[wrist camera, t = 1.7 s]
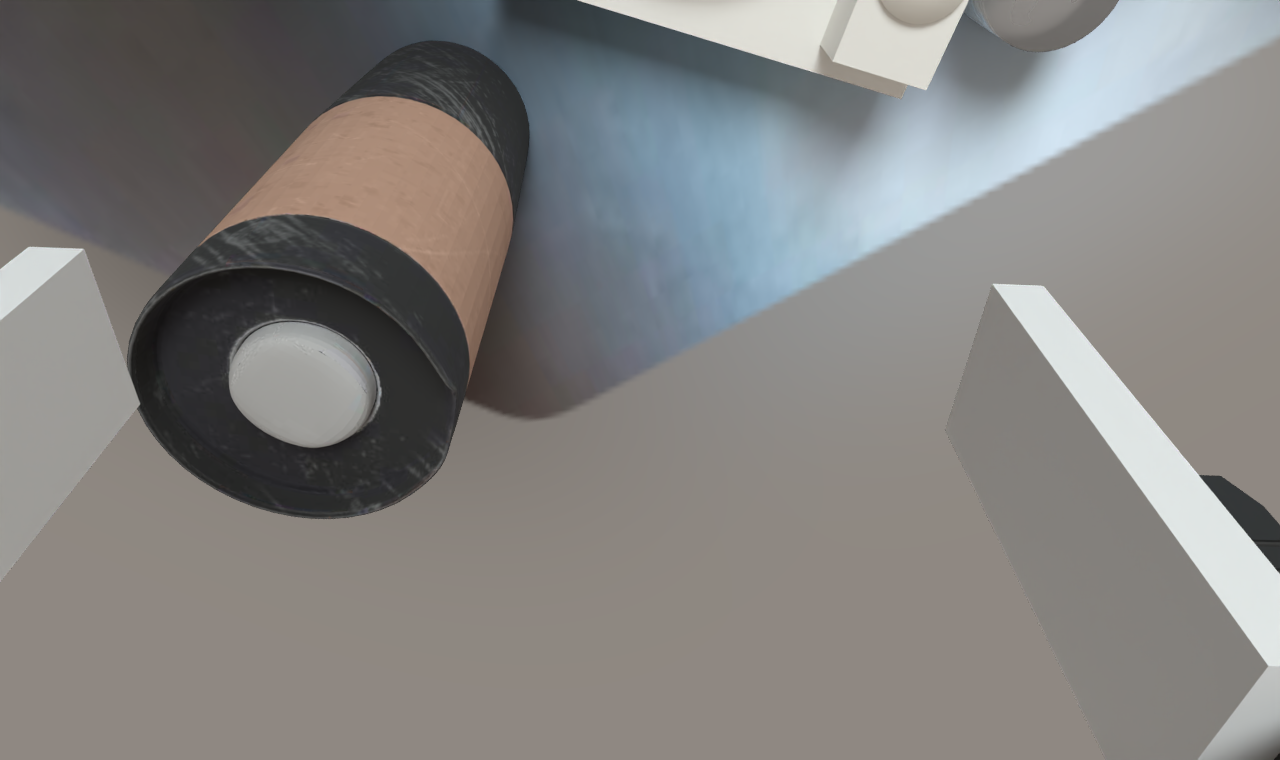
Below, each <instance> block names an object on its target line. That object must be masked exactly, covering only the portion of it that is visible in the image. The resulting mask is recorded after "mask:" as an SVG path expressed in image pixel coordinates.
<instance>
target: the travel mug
mask: <svg viewBox="0 0 1280 760" xmlns="http://www.w3.org/2000/svg"><path fill="white" fill-rule="evenodd" d="M528 146H529V123H528V117H527V113H526V109H525V106H524V103H523V101H522V99H521V96H520V94H519V92H518V91H517V89H516V87H515V86H514V84H513V83H512V81H511V80H510V79H509V77H508V76H507V75H506V74H505V73H504V72H503V71H502V70H501V69H500V68H499V67H498V66H497V65H496V64H495V63H494V62H492V61H491V60H490V59H489V58H487V57H486V56H484V55H482V54H481V53H479V52H477V51H475V50H473V49H471V48H468V47H466V46H463V45H459V44H456V43H451V42H445V41H425V42H418V43H414V44H410V45H408V46H405V47H403V48H401V49H399V50H397V51H395V52H394V53H392V54H390V55H389V56H387V57H386V58H385V59H384V60H382V61H381V62H380V63H379V64H378V65H376V66H375V67H374V68H373V69H372V70H370V71H369V72H368V73H367V74H366V75H365V76H364V77H363V78H361V79H360V80H359V81H358V82H357V83H356V84H355V85H354V86H352V87H351V88H350V89H349V90H348V91H347V92H346V93H345V94H343V95H342V96H341V97H340V98H339V99H338V100H337V101H336V102H334V103H333V104H332V105H331V106H330V107H329V108H328V109H327V110H325V111H324V112H323V113H322V114H321V115H320V116H319V117H318V118H316V119H315V120H314V121H313V122H312V123H311V124H310V125H309V126H308V127H307V128H306V129H305V131H304V132H303V133H302V134H301V135H300V136H299V137H298V138H297V139H296V140H295V141H294V143H293V144H292V145H291V146H290V147H289V148H288V149H287V150H286V151H285V152H284V153H283V155H282V156H281V157H280V158H279V159H278V160H277V161H276V162H275V163H274V164H273V165H272V166H271V168H270V169H269V170H268V171H267V172H266V173H265V174H264V175H263V176H262V177H261V178H260V180H259V181H258V182H257V183H256V184H255V185H254V186H253V187H252V188H251V189H250V190H249V192H248V193H247V194H246V195H245V196H244V197H243V198H242V199H241V200H240V201H239V202H238V203H237V205H236V206H235V207H234V208H233V209H232V210H231V211H230V212H229V213H228V214H227V215H226V217H225V218H224V219H223V220H222V221H221V222H220V223H219V224H218V225H217V226H216V227H215V229H214V230H213V231H212V232H211V233H210V234H209V235H208V236H207V237H206V238H205V239H204V241H203V242H202V243H201V244H200V245H199V246H198V247H197V248H196V249H195V250H194V251H193V252H192V254H191V255H190V256H189V257H188V258H187V259H186V260H185V261H184V262H183V263H182V264H181V265H180V267H179V268H178V269H177V270H176V271H175V272H174V273H173V274H172V275H171V276H170V277H169V279H168V280H167V281H166V282H165V283H164V284H163V285H162V286H161V287H160V288H159V290H158V291H157V292H156V293H155V294H154V295H153V297H152V298H151V299H150V300H149V301H148V303H147V304H146V306H145V307H144V309H143V311H142V312H141V314H140V316H139V318H138V319H137V321H136V323H135V326H134V328H133V332H132V334H131V337H130V341H129V348H128V355H127V365H128V366H127V368H128V372H129V374H130V377H131V380H132V383H133V385H134V388H135V391H136V394H137V396H138V399H139V402H140V405H139V406H138V408H137V409H138V411H139V413H140V415H141V416H142V418H143V420H144V422H145V424H146V426H147V427H148V428H149V430H150V431H151V433H152V434H153V436H154V437H155V438H156V440H157V441H158V442H159V443H160V445H161V446H162V447H163V448H164V449H165V450H166V451H167V452H168V454H169V455H170V456H172V457H173V458H174V459H175V460H176V461H177V462H178V463H179V464H180V465H181V466H182V467H184V468H185V469H186V470H187V471H189V472H190V473H191V474H193V475H194V476H196V477H197V478H198V479H200V480H201V481H203V482H204V483H206V484H208V485H209V486H211V487H213V488H214V489H216V490H218V491H219V492H221V493H223V494H225V495H227V496H229V497H231V498H233V499H236V500H238V501H240V502H243V503H246V504H248V505H251V506H253V507H256V508H260V509H263V510H266V511H270V512H273V513H278V514H283V515H288V516H294V517H302V518H315V519H335V518H348V517H354V516H359V515H365V514H368V513H372V512H375V511H379V510H382V509H384V508H386V507H389V506H391V505H394V504H396V503H398V502H400V501H401V500H403V499H404V498H406V497H408V496H410V495H411V494H412V493H414V492H415V491H417V490H418V489H419V488H421V487H422V486H423V485H424V484H426V482H428V481H429V480H430V479H431V478H432V477H433V476H434V475H435V474H436V473H437V471H438V470H439V469H440V467H441V466H442V464H443V462H444V461H445V458H446V456H447V453H448V450H449V446H450V443H451V439H452V436H453V433H454V431H455V427H456V424H457V420H458V417H459V414H460V410H461V407H462V403H463V400H464V397H465V393H466V390H467V386H468V383H469V380H470V376H471V373H472V369H473V366H474V363H475V359H476V356H477V352H478V349H479V346H480V342H481V339H482V335H483V332H484V329H485V325H486V322H487V318H488V315H489V312H490V308H491V305H492V302H493V298H494V295H495V291H496V288H497V285H498V281H499V278H500V274H501V271H502V268H503V264H504V261H505V257H506V254H507V251H508V247H509V243H510V239H511V235H512V231H513V226H514V221H515V216H516V211H517V206H518V201H519V196H520V191H521V185H522V180H523V175H524V170H525V165H526V160H527V154H528Z"/></svg>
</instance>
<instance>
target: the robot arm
mask: <svg viewBox="0 0 1280 760" xmlns="http://www.w3.org/2000/svg"><path fill="white" fill-rule="evenodd" d="M139 405H140V402H139V399H138V396H137V394H136V391H135V388H134V385H133V383H132V380H131V377H130V374H129V372H128V369H127V366H126V364H125V360H124V358H123V355H122V352H121V350H120V347H119V344H118V341H117V338H116V336H115V333H114V330H113V327H112V325H111V322H110V319H109V316H108V313H107V311H106V308H105V305H104V302H103V300H102V297H101V294H100V291H99V289H98V286H97V283H96V280H95V278H94V275H93V272H92V269H91V266H90V264H89V261H88V258H87V255H86V253H85V250H84V249H74V248H73V249H72V248H48V247H28V248H27V249H25V250H24V251H23V252H22V253H20V254H19V255H18V256H16V257H15V258H14V259H12V260H11V261H10V262H9V263H7V264H6V265H5V266H3V267H2V268H1V269H0V582H1V581H2V579H3V578H4V577H5V575H6V574H7V573H8V571H9V570H10V569H11V568H12V566H13V565H14V564H15V563H16V561H17V560H18V559H19V558H20V556H21V555H22V554H23V552H24V551H25V550H26V549H27V547H28V546H29V545H30V544H31V542H32V541H33V540H34V539H35V537H36V536H37V535H38V533H39V532H40V531H41V530H42V528H43V527H44V526H45V525H46V523H47V522H48V521H49V519H50V518H51V517H52V516H53V514H54V513H55V512H56V511H57V509H58V508H59V507H60V506H61V504H62V503H63V502H64V500H65V499H66V498H67V497H68V495H69V494H70V493H71V492H72V490H73V489H74V488H75V486H76V485H77V484H78V483H79V481H80V480H81V479H82V478H83V476H84V475H85V474H86V472H87V471H88V470H89V469H90V467H91V466H92V465H93V464H94V462H95V461H96V460H97V458H98V457H99V456H100V455H101V453H102V452H103V451H104V450H105V448H106V447H107V446H108V445H109V443H110V442H111V441H112V439H113V438H114V437H115V436H116V434H117V433H118V432H119V431H120V429H121V428H122V427H123V425H124V424H125V423H126V421H127V420H128V419H129V418H130V416H131V415H132V414H133V413H134V411H135V410H136V409H137V408H138V406H139ZM945 431H946V433H947V435H948V438H949V440H950V442H951V444H952V446H953V448H954V450H955V452H956V454H957V456H958V458H959V460H960V462H961V464H962V466H963V468H964V470H965V473H966V475H967V477H968V479H969V481H970V483H971V485H972V487H973V489H974V491H975V493H976V495H977V497H978V499H979V501H980V503H981V505H982V507H983V510H984V511H985V513H986V516H987V518H988V519H989V522H990V524H991V526H992V528H993V530H994V532H995V534H996V536H997V538H998V540H999V542H1000V544H1001V547H1002V548H1003V551H1004V553H1005V555H1006V557H1007V559H1008V561H1009V563H1010V565H1011V567H1012V569H1013V571H1014V573H1015V575H1016V577H1017V579H1018V581H1019V584H1020V586H1021V587H1022V590H1023V592H1024V594H1025V596H1026V598H1027V600H1028V602H1029V604H1030V606H1031V608H1032V610H1033V612H1034V614H1035V616H1036V618H1037V621H1038V622H1039V625H1040V627H1041V629H1042V631H1043V633H1044V635H1045V637H1046V639H1047V641H1048V643H1049V645H1050V647H1051V649H1052V651H1053V653H1054V655H1055V658H1056V660H1057V661H1058V664H1059V666H1060V668H1061V670H1062V672H1063V674H1064V676H1065V678H1066V680H1067V682H1068V684H1069V686H1070V688H1071V690H1072V693H1073V695H1074V696H1075V698H1076V701H1077V703H1078V705H1079V707H1080V709H1081V711H1082V713H1083V715H1084V717H1085V719H1086V721H1087V723H1088V725H1089V727H1090V729H1091V732H1092V733H1093V736H1094V738H1095V740H1096V742H1097V744H1098V746H1099V748H1100V750H1101V752H1102V754H1103V756H1104V758H1105V760H1280V525H1279V524H1278V522H1277V521H1276V520H1275V519H1274V518H1273V517H1272V516H1271V515H1270V513H1269V512H1268V511H1267V510H1266V509H1265V507H1264V506H1262V505H1261V504H1260V503H1258V502H1257V501H1255V500H1254V499H1253V498H1251V497H1250V496H1248V495H1247V494H1245V493H1244V492H1243V491H1241V490H1240V489H1238V488H1237V487H1236V486H1234V485H1232V484H1231V483H1230V482H1229V481H1227V480H1226V479H1224V478H1223V477H1222V476H1207V475H1206V476H1204V475H1198V474H1197V473H1196V472H1195V470H1194V469H1193V468H1192V467H1191V465H1190V464H1189V463H1188V462H1187V460H1186V459H1185V458H1184V457H1183V456H1182V455H1181V453H1180V452H1179V451H1178V449H1177V448H1176V447H1175V446H1174V445H1173V443H1172V442H1171V441H1170V440H1169V439H1168V437H1167V436H1166V435H1165V434H1164V432H1163V431H1162V430H1161V429H1160V428H1159V427H1158V425H1157V424H1156V423H1155V421H1154V420H1153V419H1152V418H1151V417H1150V416H1149V414H1148V413H1147V412H1146V410H1145V409H1144V408H1143V407H1142V406H1141V404H1140V403H1139V402H1138V401H1137V399H1136V398H1135V397H1134V396H1133V395H1132V393H1131V392H1130V391H1129V390H1128V389H1127V387H1126V386H1125V385H1124V384H1123V382H1122V381H1121V380H1120V379H1119V378H1118V376H1117V375H1116V374H1115V373H1114V372H1113V370H1112V369H1111V368H1110V367H1109V365H1108V364H1107V363H1106V362H1105V361H1104V359H1103V358H1102V357H1101V356H1100V354H1099V353H1098V352H1097V351H1096V350H1095V348H1094V347H1093V346H1092V345H1091V344H1090V342H1089V341H1088V340H1087V339H1086V337H1085V336H1084V335H1083V334H1082V332H1081V331H1080V330H1079V329H1078V328H1077V326H1076V325H1075V324H1074V323H1073V322H1072V320H1071V319H1070V318H1069V317H1068V315H1067V314H1066V313H1065V312H1064V311H1063V309H1062V308H1061V307H1060V306H1059V305H1058V303H1057V302H1056V301H1055V300H1054V298H1053V297H1052V296H1051V295H1050V294H1049V292H1048V291H1047V290H1046V289H1045V287H1044V286H1034V285H1032V286H1031V285H1008V284H992V287H991V290H990V293H989V296H988V299H987V302H986V305H985V308H984V311H983V314H982V318H981V320H980V324H979V327H978V330H977V333H976V336H975V339H974V342H973V345H972V348H971V351H970V354H969V357H968V360H967V363H966V367H965V370H964V373H963V376H962V379H961V382H960V385H959V388H958V391H957V394H956V397H955V400H954V404H953V407H952V410H951V413H950V416H949V419H948V422H947V425H946V429H945Z"/></svg>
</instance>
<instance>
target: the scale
mask: <svg viewBox="0 0 1280 760" xmlns="http://www.w3.org/2000/svg"><path fill="white" fill-rule="evenodd" d="M578 1H582V2H585V3H588V4H591V5H595V6H598V7H601V8H604V9H608V10H611V11H614V12H618V13H621V14H624V15H627V16H631V17H634V18H637V19H640V20H644V21H647V22H650V23H654V24H657V25H660V26H663V27H667V28H670V29H673V30H677V31H680V32H683V33H686V34H690V35H693V36H696V37H699V38H703V39H706V40H709V41H713V42H716V43H719V44H722V45H726V46H729V47H732V48H735V49H739V50H742V51H745V52H749V53H752V54H755V55H758V56H762V57H765V58H768V59H771V60H775V61H778V62H781V63H785V64H788V65H791V66H794V67H798V68H801V69H804V70H808V71H811V72H814V73H817V74H821V75H824V76H827V77H830V78H834V79H837V80H840V81H844V82H847V83H850V84H853V85H857V86H860V87H863V88H866V89H870V90H873V91H876V92H880V93H883V94H886V95H889V96H893V97H896V98H899V99H902V96H903V94H904V92H905V90H906V88H907V86H908V85H910V86H914V87H917V88H920V89H923V90H927V88H928V86H929V84H930V81H931V79H932V77H933V75H934V73H935V71H936V69H937V67H938V65H939V62H940V60H941V58H942V56H943V54H944V52H945V50H946V48H947V45H948V43H949V41H950V39H951V37H952V35H953V33H954V31H955V29H956V26H957V24H958V22H959V20H960V18H961V16H962V14H963V12H964V10H965V7H966V5H967V3H968V1H969V0H578Z"/></svg>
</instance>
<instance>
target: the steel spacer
mask: <svg viewBox="0 0 1280 760" xmlns="http://www.w3.org/2000/svg"><path fill="white" fill-rule="evenodd" d="M1118 1H1119V0H969V1H968V3H967V5H966V7H965V10H964V13H965V14H966V15H967V16H968V17H969V18H971V19H972V20H974V21H975V22H977V23H978V24H980V25H981V26H983V27H984V28H986V29H987V30H989V31H990V32H991V33H993V34H994V35H996V36H997V37H999V38H1000V39H1002V40H1003V41H1005V42H1006V43H1008V44H1010V45H1011V46H1013V47H1016V48H1018V49H1021V50H1025V51H1031V52H1047V51H1052V50H1057V49H1060V48H1063V47H1066V46H1068V45H1070V44H1073V43H1075V42H1076V41H1078V40H1080V39H1082V38H1083V37H1085V36H1086V35H1088V34H1089V33H1090V32H1092V31H1093V30H1094V29H1095V28H1096V27H1097V26H1099V25H1100V24H1101V23H1102V22H1103V21H1104V20H1105V18H1106V17H1107V16H1108V15H1109V14H1110V12H1111V11H1112V10H1113V9H1114V7H1115V6H1116V4H1117V2H1118Z"/></svg>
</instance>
